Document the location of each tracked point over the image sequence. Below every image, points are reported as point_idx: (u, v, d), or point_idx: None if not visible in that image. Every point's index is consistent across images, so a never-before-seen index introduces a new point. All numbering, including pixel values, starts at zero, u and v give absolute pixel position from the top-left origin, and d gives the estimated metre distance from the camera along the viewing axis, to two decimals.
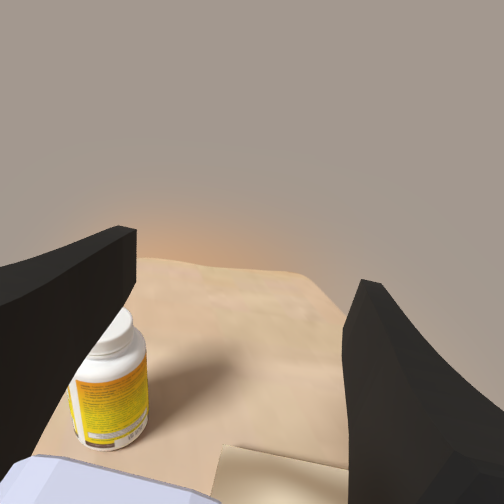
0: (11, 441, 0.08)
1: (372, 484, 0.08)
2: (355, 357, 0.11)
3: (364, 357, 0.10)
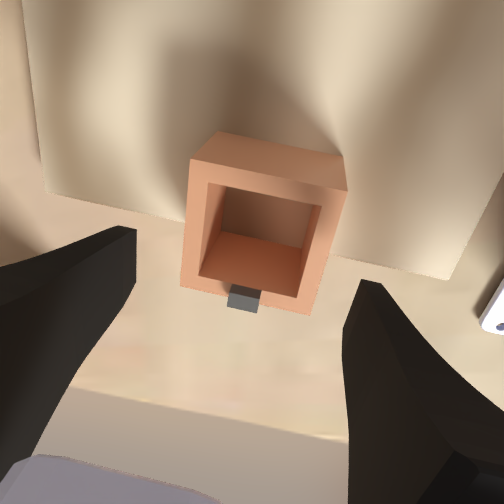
0: (11, 441, 0.08)
1: (372, 484, 0.08)
2: (355, 357, 0.11)
3: (364, 357, 0.10)
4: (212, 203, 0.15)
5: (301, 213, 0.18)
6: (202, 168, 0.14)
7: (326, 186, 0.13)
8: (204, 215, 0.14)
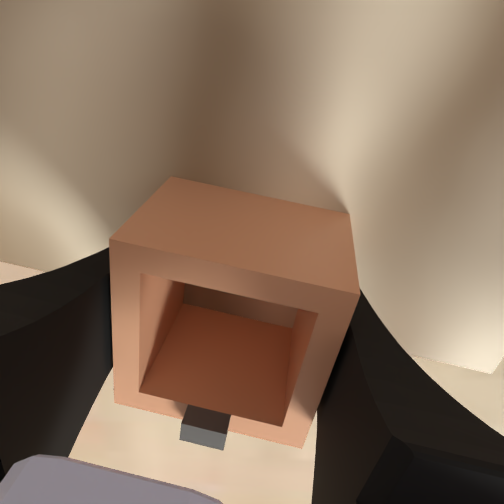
0: (49, 451, 0.08)
1: (331, 474, 0.08)
2: None
3: None
4: (157, 289, 0.10)
5: None
6: (130, 252, 0.09)
7: (325, 285, 0.08)
8: (139, 316, 0.09)
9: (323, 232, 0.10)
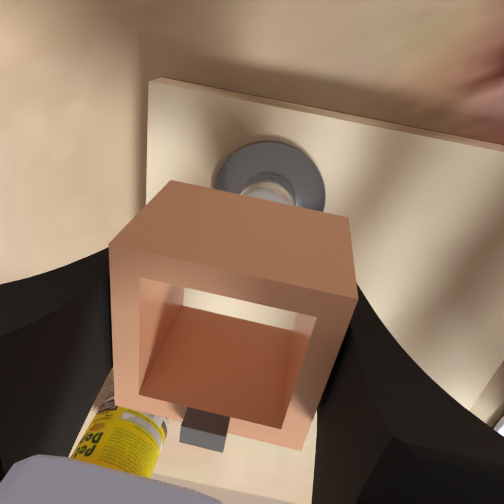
0: (48, 451, 0.08)
1: (331, 474, 0.08)
2: None
3: None
4: (157, 293, 0.10)
5: None
6: (130, 257, 0.09)
7: (324, 289, 0.08)
8: (139, 320, 0.10)
9: (322, 236, 0.10)
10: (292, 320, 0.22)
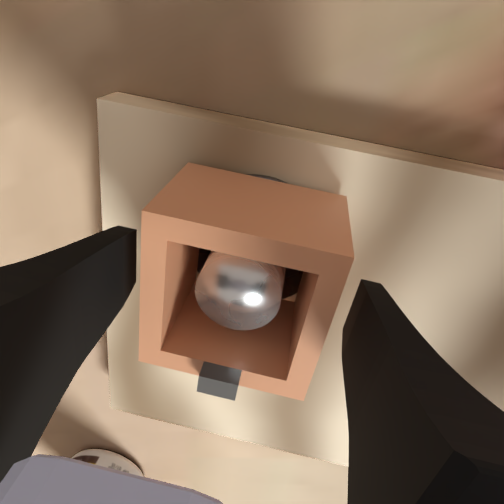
0: (11, 441, 0.08)
1: (372, 484, 0.08)
2: (355, 357, 0.11)
3: (364, 357, 0.10)
4: (178, 259, 0.12)
5: None
6: (159, 222, 0.10)
7: (325, 249, 0.10)
8: (164, 280, 0.11)
9: (323, 210, 0.12)
10: None
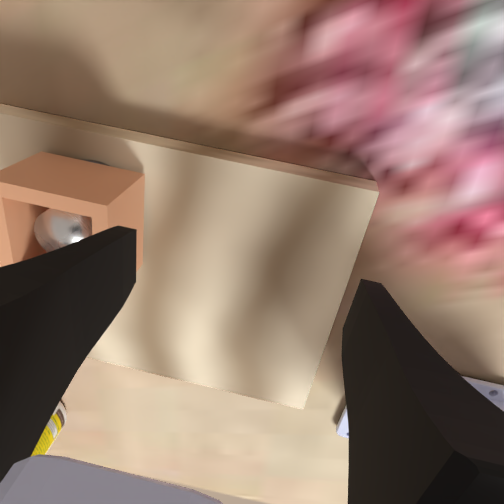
0: (11, 441, 0.08)
1: (372, 484, 0.08)
2: (355, 357, 0.11)
3: (364, 357, 0.10)
4: (23, 213, 0.18)
5: (199, 366, 0.26)
6: None
7: (91, 201, 0.16)
8: (7, 223, 0.18)
9: (116, 181, 0.18)
10: (142, 315, 0.25)
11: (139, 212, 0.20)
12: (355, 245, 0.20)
